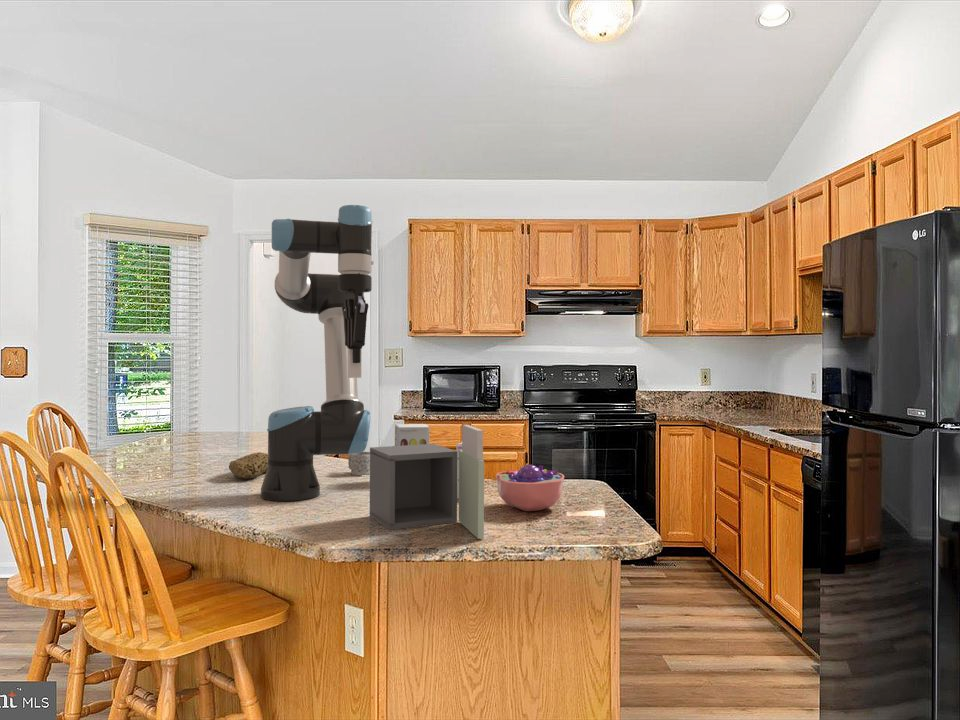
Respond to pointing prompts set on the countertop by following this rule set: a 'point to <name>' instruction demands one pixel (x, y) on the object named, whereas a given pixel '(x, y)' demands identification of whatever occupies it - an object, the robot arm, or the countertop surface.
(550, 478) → the cell model
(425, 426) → the supplement box
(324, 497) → the countertop surface
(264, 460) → the sponge
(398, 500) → the box
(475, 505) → the side door
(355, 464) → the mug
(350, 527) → the countertop surface
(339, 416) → the robot arm
